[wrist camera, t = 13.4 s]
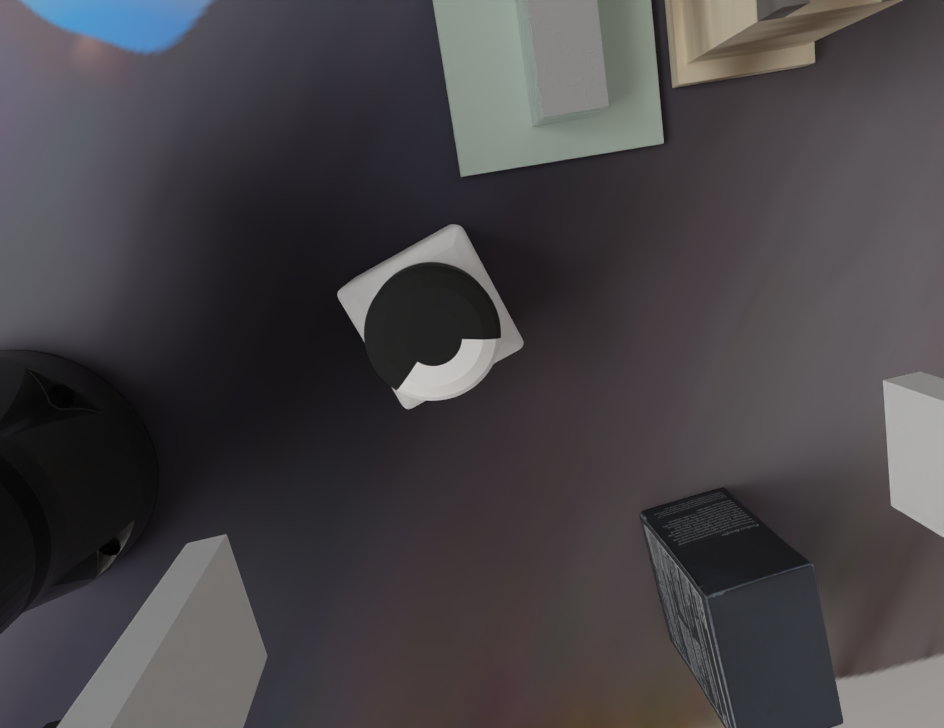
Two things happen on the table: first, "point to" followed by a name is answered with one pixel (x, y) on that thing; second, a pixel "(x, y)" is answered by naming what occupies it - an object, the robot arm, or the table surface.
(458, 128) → the mat
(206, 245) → the table surface
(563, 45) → the rail
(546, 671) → the table surface
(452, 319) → the medicine bottle
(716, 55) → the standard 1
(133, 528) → the robot arm
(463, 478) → the table surface
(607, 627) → the table surface
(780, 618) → the small box
